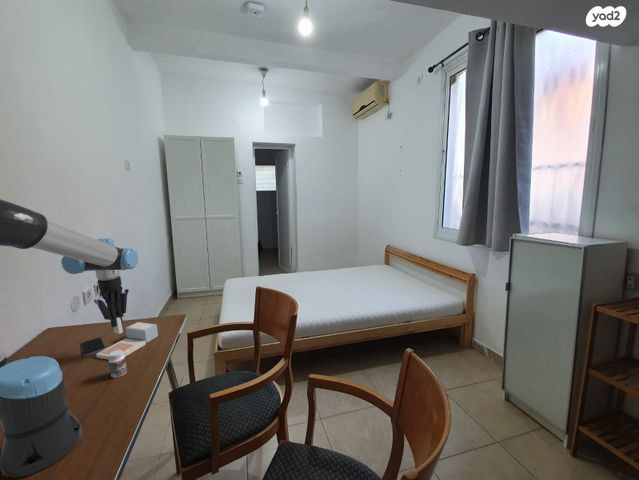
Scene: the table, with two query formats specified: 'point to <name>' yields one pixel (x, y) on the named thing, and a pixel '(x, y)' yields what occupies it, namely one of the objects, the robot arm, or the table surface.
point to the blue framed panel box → (142, 331)
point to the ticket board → (122, 347)
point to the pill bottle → (117, 363)
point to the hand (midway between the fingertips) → (118, 332)
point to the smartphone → (92, 346)
